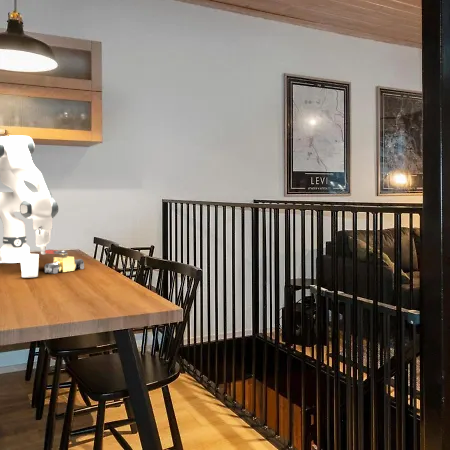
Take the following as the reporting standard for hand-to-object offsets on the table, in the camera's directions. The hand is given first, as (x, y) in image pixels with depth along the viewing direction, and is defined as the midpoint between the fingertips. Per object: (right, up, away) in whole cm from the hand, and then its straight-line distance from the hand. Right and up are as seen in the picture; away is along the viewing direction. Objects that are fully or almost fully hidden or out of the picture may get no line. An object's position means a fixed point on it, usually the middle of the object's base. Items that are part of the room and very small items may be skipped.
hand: (43, 254), depth 230 cm
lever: (+5, 0, +4) cm, 7 cm away
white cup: (0, -10, -15) cm, 18 cm away
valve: (+9, -8, +2) cm, 13 cm away
